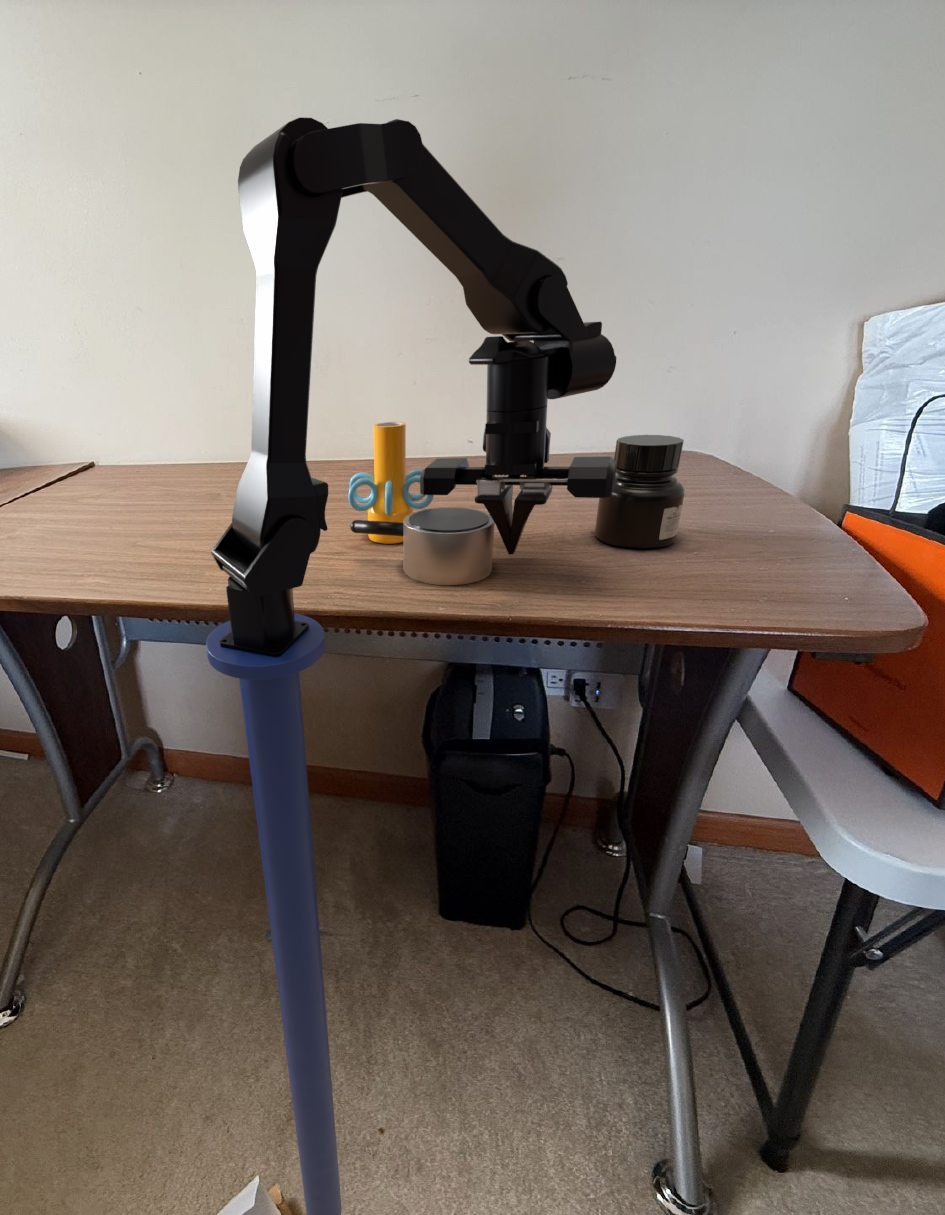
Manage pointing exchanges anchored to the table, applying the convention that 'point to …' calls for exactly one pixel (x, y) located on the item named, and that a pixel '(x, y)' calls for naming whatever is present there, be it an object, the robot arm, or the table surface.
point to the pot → (441, 544)
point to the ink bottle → (643, 493)
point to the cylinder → (388, 481)
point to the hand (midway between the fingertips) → (511, 553)
